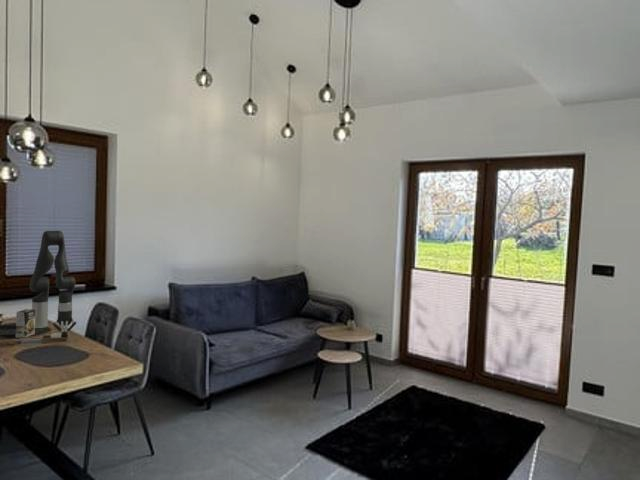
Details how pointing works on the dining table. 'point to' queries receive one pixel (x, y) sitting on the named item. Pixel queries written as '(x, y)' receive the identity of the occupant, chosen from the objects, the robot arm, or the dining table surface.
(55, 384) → the dining table surface
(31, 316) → the coffee box
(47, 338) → the chute
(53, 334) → the pale block
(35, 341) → the pad
